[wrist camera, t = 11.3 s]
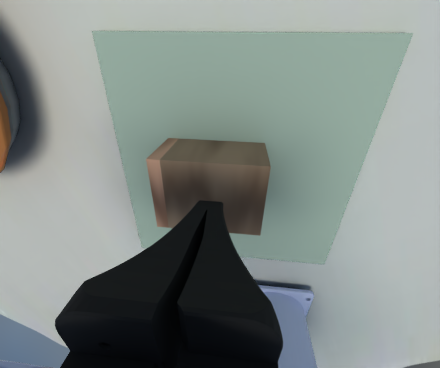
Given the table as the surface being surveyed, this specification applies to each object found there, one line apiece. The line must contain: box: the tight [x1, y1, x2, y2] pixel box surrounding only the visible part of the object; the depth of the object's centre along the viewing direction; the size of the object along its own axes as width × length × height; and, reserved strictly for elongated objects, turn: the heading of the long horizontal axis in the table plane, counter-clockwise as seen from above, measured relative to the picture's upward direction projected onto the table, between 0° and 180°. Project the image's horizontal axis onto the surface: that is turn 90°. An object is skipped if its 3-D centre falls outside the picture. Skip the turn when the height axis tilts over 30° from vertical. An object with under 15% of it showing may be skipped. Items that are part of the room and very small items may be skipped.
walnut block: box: [146, 138, 271, 236], centre depth 15 cm, size 5×4×7 cm
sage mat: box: [92, 31, 413, 264], centre depth 17 cm, size 18×18×1 cm
